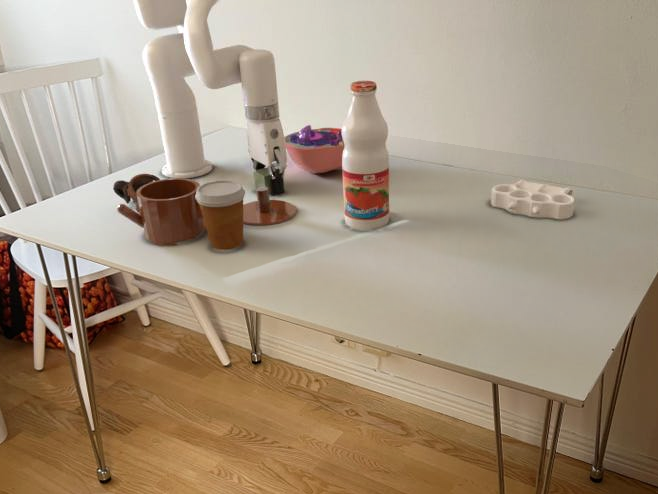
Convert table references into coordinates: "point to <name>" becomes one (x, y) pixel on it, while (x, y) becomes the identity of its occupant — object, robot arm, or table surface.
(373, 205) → the fruit juice
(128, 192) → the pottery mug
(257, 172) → the tea block
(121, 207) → the teapot spout handle
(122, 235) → the table surface
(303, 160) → the cell model
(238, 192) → the disposable coffee cup
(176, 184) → the brown hollow round container
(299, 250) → the table surface
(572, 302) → the table surface
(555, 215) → the knuckle duster
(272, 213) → the lid
